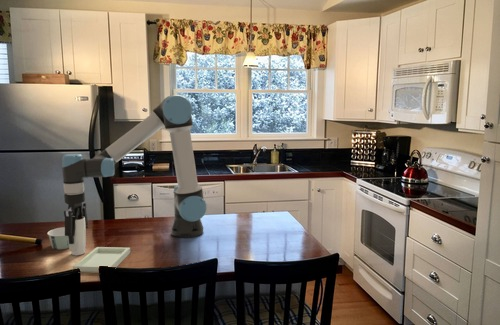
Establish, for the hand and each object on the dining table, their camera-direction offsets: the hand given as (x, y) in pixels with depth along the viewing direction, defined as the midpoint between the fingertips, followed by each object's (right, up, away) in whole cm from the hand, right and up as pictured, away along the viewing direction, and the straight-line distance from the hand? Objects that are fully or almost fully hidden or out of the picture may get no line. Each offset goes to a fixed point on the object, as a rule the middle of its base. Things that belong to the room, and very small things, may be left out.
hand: (78, 247), depth 163 cm
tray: (+13, -4, -8) cm, 16 cm away
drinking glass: (0, -3, 0) cm, 3 cm away
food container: (-10, -2, +10) cm, 15 cm away
